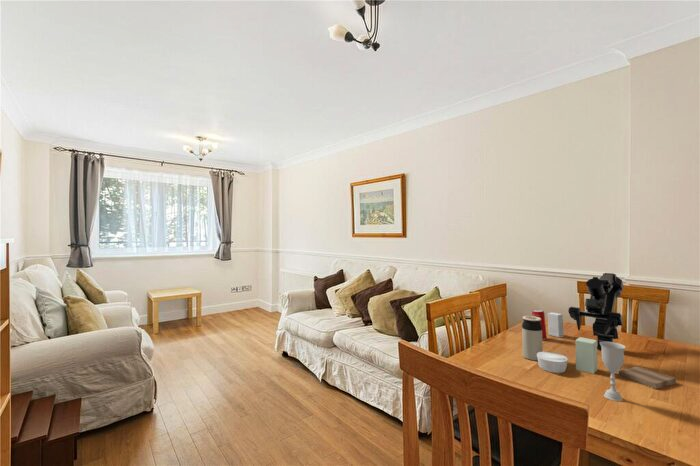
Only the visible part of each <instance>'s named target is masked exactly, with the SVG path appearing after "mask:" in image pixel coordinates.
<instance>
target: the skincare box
mask: <svg viewBox="0 0 700 466" xmlns="http://www.w3.org/2000/svg"><path fill="white" fill-rule="evenodd" d="M547 327H548V328H547V329H548V336H553V337H556V338H563V337H564V336H565V335H564V317H563V314H562V313H557V312H548V313H547Z"/></svg>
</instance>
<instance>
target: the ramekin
mask: <svg viewBox="0 0 700 466" xmlns="http://www.w3.org/2000/svg"><path fill="white" fill-rule="evenodd" d="M537 358H538V360H537V364H538V366H539V368H540V369H541V370H543V371H545V372H549V373H553V374H563V373H565V372H566V371H567V366H568V365H567V364H568V361H569V358H568V357H567V356H565V355H563V354H561V353H558V352H553V351H543V352H538V353H537Z"/></svg>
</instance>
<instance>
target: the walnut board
mask: <svg viewBox="0 0 700 466" xmlns="http://www.w3.org/2000/svg"><path fill="white" fill-rule="evenodd" d="M618 376H619V377H621V378H623V379H627V380H629V381H632V382H635V383H637V384H639V385H642V386H645V385H646V387H648V386H649V388H651V387H652V388H651V389H654V388H655V389H654V390H658V388H659V389H661V387H662V388H666V387H668V386H672V385H675V383H677V377H674V376H671V375H667V374H665V373H661V372H657V371H654V370H652V369H649V368H645V367H642V366H640V365H637V366H633V367H630V368H625V369H620V370H619V371H618Z"/></svg>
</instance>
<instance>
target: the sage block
mask: <svg viewBox="0 0 700 466" xmlns="http://www.w3.org/2000/svg"><path fill="white" fill-rule="evenodd" d="M574 342H575V370H576V371H577V370H578V371H581V372H583V373H584V372H585V373H589V374H595V373H596V372H597V371H598V349H597V339H592V338H586V337H581V336H579V337H578V338H576V339H575V341H574Z"/></svg>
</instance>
